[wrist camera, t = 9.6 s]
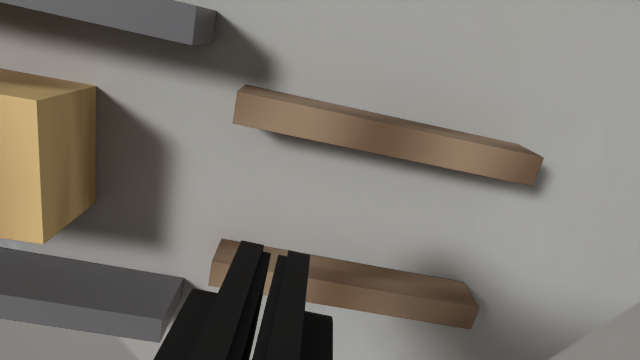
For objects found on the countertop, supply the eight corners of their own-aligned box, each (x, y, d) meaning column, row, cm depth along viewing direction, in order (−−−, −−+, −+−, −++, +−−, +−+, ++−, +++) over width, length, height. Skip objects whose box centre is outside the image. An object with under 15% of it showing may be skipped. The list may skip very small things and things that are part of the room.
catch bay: (216, 11, 15) (196, 5, 13) (180, 298, 20) (159, 342, 17) (-176, -82, 14) (-298, -111, 11) (-122, 249, 18) (-199, 288, 16)
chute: (518, 144, 18) (543, 157, 16) (455, 302, 20) (470, 329, 18) (245, 84, 16) (237, 91, 14) (218, 260, 19) (208, 285, 17)
